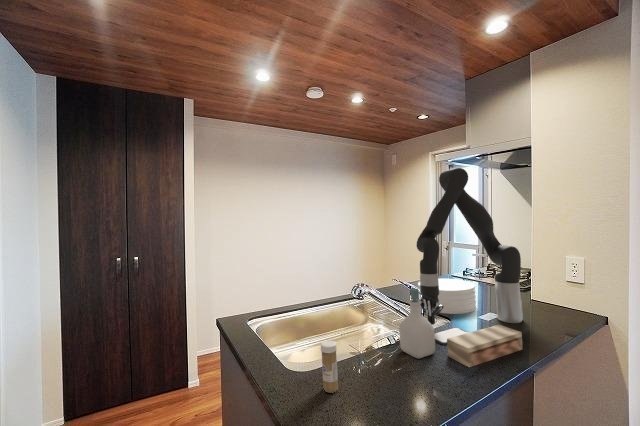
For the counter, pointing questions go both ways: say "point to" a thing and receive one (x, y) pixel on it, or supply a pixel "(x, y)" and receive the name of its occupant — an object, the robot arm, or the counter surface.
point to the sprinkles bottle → (329, 366)
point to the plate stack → (456, 296)
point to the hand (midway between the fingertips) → (431, 324)
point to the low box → (484, 345)
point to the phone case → (448, 335)
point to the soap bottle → (416, 331)
